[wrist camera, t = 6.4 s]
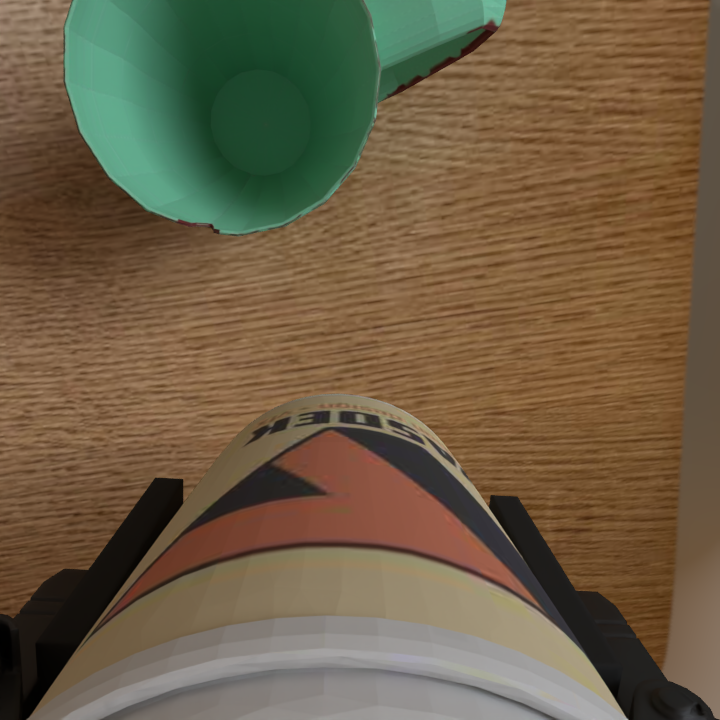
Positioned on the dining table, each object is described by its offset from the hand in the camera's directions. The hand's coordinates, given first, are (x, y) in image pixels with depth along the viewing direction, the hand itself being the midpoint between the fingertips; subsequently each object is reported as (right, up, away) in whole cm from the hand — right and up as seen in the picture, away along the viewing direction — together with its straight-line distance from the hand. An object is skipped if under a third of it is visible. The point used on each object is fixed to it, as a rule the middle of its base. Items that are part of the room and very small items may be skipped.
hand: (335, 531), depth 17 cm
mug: (-1, +15, +6) cm, 16 cm away
